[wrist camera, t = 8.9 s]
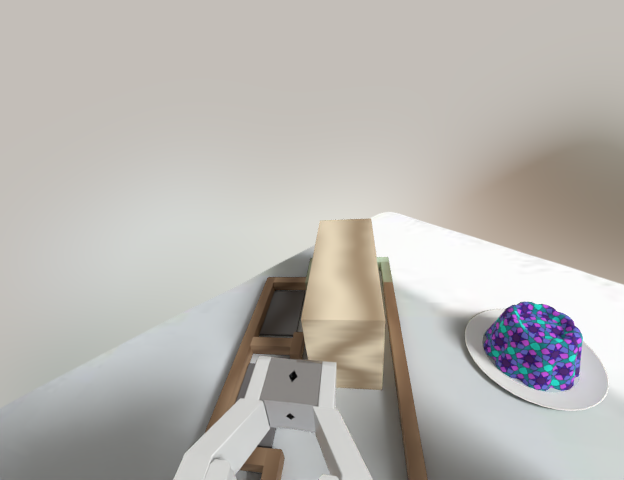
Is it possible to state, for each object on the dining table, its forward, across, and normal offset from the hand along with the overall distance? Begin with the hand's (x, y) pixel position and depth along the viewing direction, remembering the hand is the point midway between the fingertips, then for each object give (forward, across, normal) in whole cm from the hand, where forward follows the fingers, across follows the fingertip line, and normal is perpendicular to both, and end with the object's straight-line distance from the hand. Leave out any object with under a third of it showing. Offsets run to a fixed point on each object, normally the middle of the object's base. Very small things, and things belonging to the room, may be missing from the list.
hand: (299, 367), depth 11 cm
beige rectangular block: (+19, -2, +18) cm, 26 cm away
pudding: (+15, -21, +17) cm, 31 cm away
